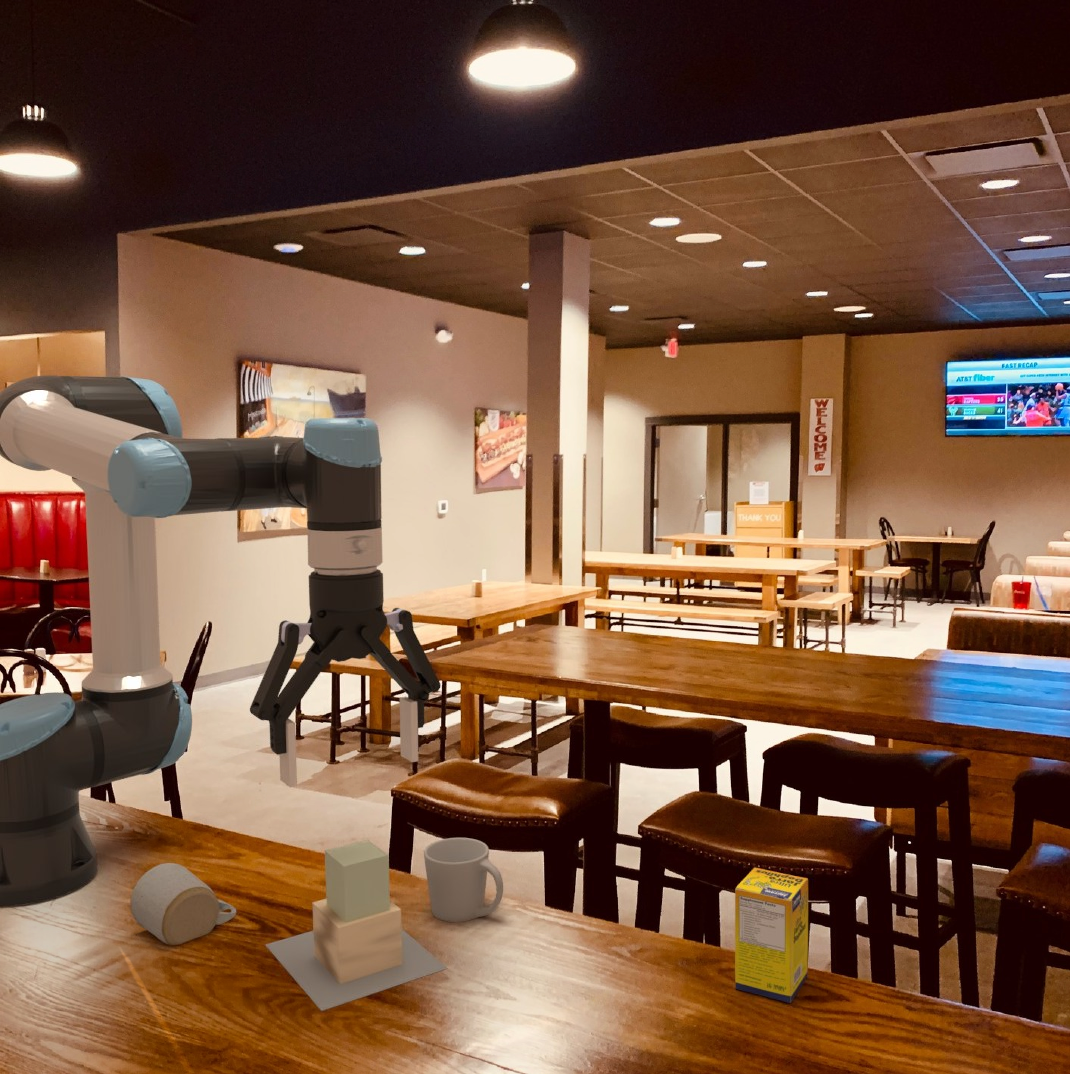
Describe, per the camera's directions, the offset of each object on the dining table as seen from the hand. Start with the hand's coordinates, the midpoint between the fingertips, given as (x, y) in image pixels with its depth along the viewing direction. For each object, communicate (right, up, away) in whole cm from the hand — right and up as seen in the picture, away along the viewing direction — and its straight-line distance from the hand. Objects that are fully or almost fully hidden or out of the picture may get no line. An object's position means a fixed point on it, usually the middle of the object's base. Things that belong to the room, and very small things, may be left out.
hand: (351, 770), depth 109 cm
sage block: (+1, -15, +1) cm, 15 cm away
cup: (+11, -21, +13) cm, 27 cm away
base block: (0, -21, +2) cm, 21 cm away
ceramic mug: (-21, -21, +11) cm, 32 cm away
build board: (0, -22, +3) cm, 22 cm away
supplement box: (+44, -22, -1) cm, 49 cm away
